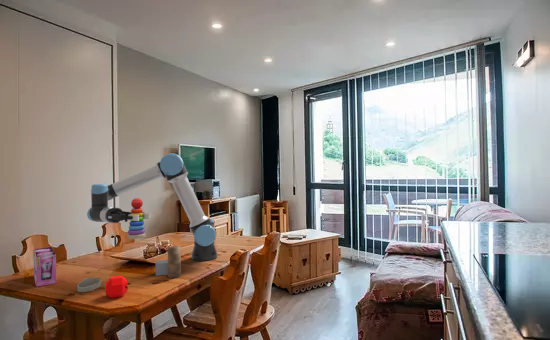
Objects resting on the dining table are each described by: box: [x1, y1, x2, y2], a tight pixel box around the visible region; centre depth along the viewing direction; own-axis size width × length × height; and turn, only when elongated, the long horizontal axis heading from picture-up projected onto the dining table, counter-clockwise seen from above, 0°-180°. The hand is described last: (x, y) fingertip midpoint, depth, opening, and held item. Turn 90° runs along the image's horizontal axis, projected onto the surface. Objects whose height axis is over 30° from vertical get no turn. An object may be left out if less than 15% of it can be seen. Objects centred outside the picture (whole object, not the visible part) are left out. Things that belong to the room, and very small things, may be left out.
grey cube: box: [155, 259, 168, 277], centre depth 163 cm, size 6×6×6 cm
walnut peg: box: [167, 245, 182, 279], centre depth 158 cm, size 6×6×14 cm
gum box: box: [33, 246, 57, 287], centre depth 157 cm, size 24×8×14 cm, turn 39°
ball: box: [104, 274, 129, 299], centre depth 133 cm, size 8×8×8 cm
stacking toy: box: [127, 197, 147, 240], centre depth 154 cm, size 8×8×19 cm
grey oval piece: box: [76, 276, 102, 293], centre depth 142 cm, size 9×6×5 cm
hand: (144, 217), depth 152 cm, fingers closed on stacking toy, 6 cm apart
